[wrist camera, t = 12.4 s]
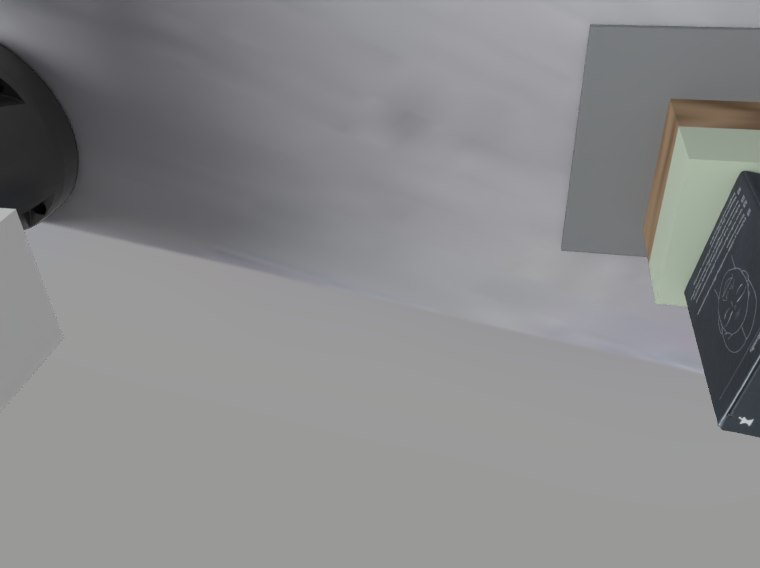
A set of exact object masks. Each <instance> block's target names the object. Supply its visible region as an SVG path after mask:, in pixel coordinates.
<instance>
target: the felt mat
mask: <svg viewBox="0 0 760 568" xmlns="http://www.w3.org/2000/svg"><path fill="white" fill-rule="evenodd" d="M670 99H693V100H718V101H744V102H760V28H727V27H679V26H632V25H590V30H589V38H588V45H587V53H586V61H585V68H584V76H583V84H582V92H581V99H580V107H579V115H578V123H577V130H576V138H575V146H574V154H573V161H572V169H571V177H570V184H569V192H568V200H567V208H566V215H565V223H564V231H563V239H562V246H561V250H562V251H575V252H588V253H601V254H615V255H628V256H641V257H647V251H646V246H645V240H644V234H643V228H644V223H645V218H646V213H647V209H648V204H649V199H650V194H651V189H652V184H653V179H654V174H655V169H656V164H657V160H658V155H659V150H660V145H661V140H662V135H663V130H664V125H665V120H666V115H667V111H668V106H669V101H670Z"/></svg>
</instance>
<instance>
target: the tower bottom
mask: <svg viewBox="0 0 760 568" xmlns="http://www.w3.org/2000/svg"><path fill="white" fill-rule="evenodd" d="M679 126H682V127H704V128H726V129H747V130H760V102H744V101H718V100H693V99H670V101H669V106H668V111H667V115H666V120H665V125H664V130H663V135H662V140H661V145H660V150H659V155H658V160H657V164H656V169H655V174H654V179H653V184H652V189H651V194H650V199H649V204H648V209H647V213H646V218H645V223H644V228H643V234H644V240H645V246H646V251H647V257H648V263H649V261H650V256H651V252H652V247H653V242H654V238H655V233H656V229H657V224H658V219H659V215H660V210H661V206H662V201H663V196H664V192H665V187H666V183H667V178H668V173H669V169H670V164H671V160H672V155H673V150H674V146H675V141H676V137H677V132H678V127H679Z"/></svg>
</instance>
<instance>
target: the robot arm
mask: <svg viewBox="0 0 760 568" xmlns="http://www.w3.org/2000/svg"><path fill="white" fill-rule="evenodd" d="M77 170H78V156H77V148H76V143H75V139H74V135H73V132H72V129H71V127H70V124H69V122H68V120H67V117H66V115H65V113H64V111H63V110H62V108H61V106H60V104H59V103H58V101H57V100H56V98H55V97H54V95H53V94H52V92H51V91H50V90H49V88H48V87H47V86H46V84H45V83H44V82H43V81H42V80H41V79H40V78H39V76H38V75H37V74H36V73H35V72H34V71H33V70H32V69H31V68H30V67H29V66H27V65H26V64H25V63H24V62H23V61H22V60H21V59H19V58H18V57H17V56H15V55H14V54H13V53H11V52H10V51H9V50H7V49H6V48H4V47H2V46H1V45H0V412H1V411H2V410H3V409H4V408H5V406H6V405H7V404H8V403H9V402H10V401H11V399H12V398H13V397H14V396H15V395H16V394H17V392H18V391H19V390H20V389H21V388H22V387H23V385H24V384H25V383H26V382H27V381H28V380H29V378H30V377H31V376H32V375H33V374H34V373H35V371H36V370H37V369H38V368H39V367H40V366H41V364H42V363H43V362H44V361H45V360H46V358H47V357H48V356H49V355H50V354H51V353H52V351H53V350H54V349H55V348H56V347H57V345H58V344H59V343H60V342H61V341H62V340H63V339H64V337H63V334H62V331H61V329H60V326H59V323H58V321H57V318H56V315H55V313H54V310H53V307H52V304H51V302H50V299H49V296H48V294H47V291H46V288H45V286H44V283H43V280H42V278H41V275H40V273H39V270H38V267H37V264H36V262H35V259H34V256H33V254H32V251H31V248H30V246H29V243H28V240H27V238H26V235H25V232H24V230H26V229H29V228H31V227H33V226H35V225H37V224H39V223H40V222H42V221H43V220H45V219H46V218H47V217H48V216H50V215H51V214H52V213H53V212H54V211H55V210H56V209H57V208H58V207H60V206H61V205H62V204H63V203H64V202H65V201H66V199H67V198H68V197H69V195H70V193H71V191H72V189H73V187H74V184H75V181H76V177H77Z"/></svg>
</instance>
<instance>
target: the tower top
mask: <svg viewBox="0 0 760 568" xmlns="http://www.w3.org/2000/svg"><path fill="white" fill-rule="evenodd" d="M742 171H751V172H755V173H760V130H747V129H726V128H704V127H682V126H679V127H678V132H677V137H676V141H675V146H674V150H673V155H672V160H671V164H670V169H669V173H668V178H667V183H666V187H665V192H664V196H663V201H662V206H661V210H660V215H659V219H658V224H657V229H656V233H655V238H654V242H653V247H652V252H651V256H650V261H649V269H650V275H651V281H652V287H653V293H654V298H655V304H663V305H675V306H686V307H688V306H687V302H686V299H685V295H684V291H685V289H686V286H687V284H688V282H689V280H690V278H691V275H692V273H693V271H694V269H695V267H696V265H697V263H698V260H699V258H700V256H701V254H702V252H703V250H704V247H705V245H706V243H707V241H708V239H709V237H710V235H711V233H712V231H713V229H714V227H715V224H716V222H717V220H718V218H719V216H720V213H721V211H722V209H723V207H724V205H725V203H726V201H727V199H728V197H729V195H730V192H731V190H732V188H733V186H734V184H735V182H736V180H737V178H738V176H739V174H740V173H741V172H742Z"/></svg>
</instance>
